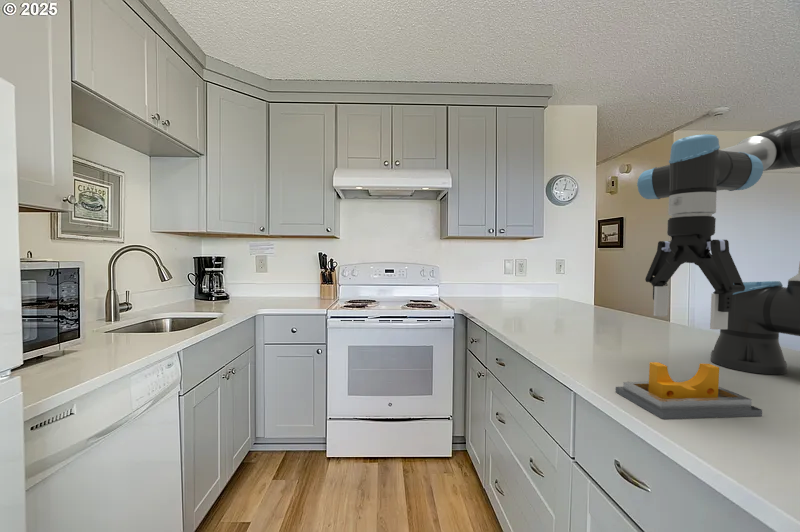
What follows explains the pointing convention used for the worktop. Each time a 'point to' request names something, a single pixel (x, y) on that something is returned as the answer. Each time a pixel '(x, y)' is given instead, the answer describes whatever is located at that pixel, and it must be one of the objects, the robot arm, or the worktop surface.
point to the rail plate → (689, 403)
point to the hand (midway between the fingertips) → (687, 322)
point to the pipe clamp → (684, 383)
